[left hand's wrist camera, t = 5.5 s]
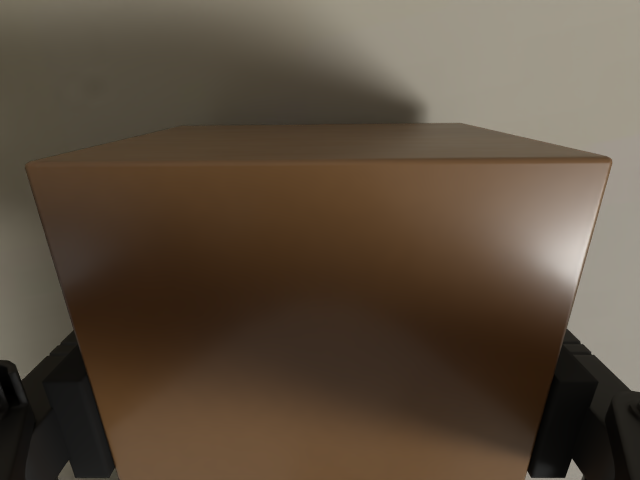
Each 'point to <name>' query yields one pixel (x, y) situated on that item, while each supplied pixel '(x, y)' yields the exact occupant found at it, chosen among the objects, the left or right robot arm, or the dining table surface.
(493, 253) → the thick board
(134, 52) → the dining table surface
